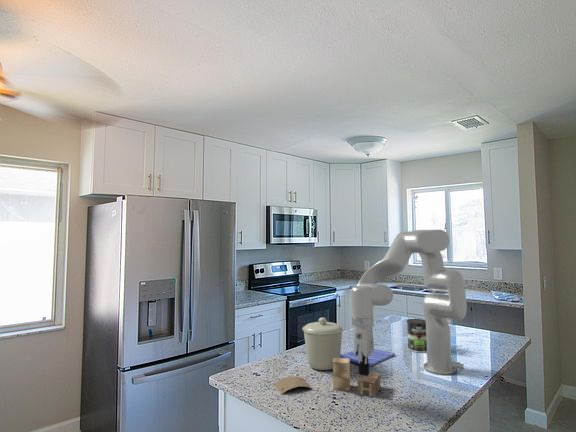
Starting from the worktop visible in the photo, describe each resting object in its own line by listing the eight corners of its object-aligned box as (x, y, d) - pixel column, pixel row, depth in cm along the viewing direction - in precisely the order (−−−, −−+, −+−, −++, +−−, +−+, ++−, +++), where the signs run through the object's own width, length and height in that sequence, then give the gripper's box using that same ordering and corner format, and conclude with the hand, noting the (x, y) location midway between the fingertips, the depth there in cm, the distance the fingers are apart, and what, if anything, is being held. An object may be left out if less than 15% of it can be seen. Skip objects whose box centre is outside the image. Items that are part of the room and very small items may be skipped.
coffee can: (431, 353, 173) (430, 323, 174) (408, 352, 176) (407, 322, 177) (428, 347, 183) (427, 318, 184) (406, 345, 186) (405, 318, 187)
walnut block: (374, 397, 127) (380, 387, 136) (374, 383, 127) (380, 373, 136) (357, 394, 130) (364, 384, 139) (357, 380, 130) (364, 371, 139)
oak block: (350, 385, 138) (349, 358, 138) (349, 390, 133) (349, 362, 133) (334, 384, 139) (333, 357, 139) (333, 389, 134) (332, 362, 135)
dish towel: (335, 360, 167) (335, 354, 167) (364, 349, 183) (364, 343, 184) (367, 370, 155) (367, 363, 155) (395, 356, 171) (395, 350, 171)
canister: (294, 366, 158) (293, 317, 159) (321, 356, 171) (320, 311, 172) (326, 377, 145) (325, 324, 147) (352, 366, 158) (351, 317, 159)
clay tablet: (305, 380, 144) (305, 373, 144) (316, 390, 135) (315, 383, 135) (270, 386, 139) (270, 379, 139) (279, 397, 130) (279, 389, 130)
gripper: (368, 327, 120) (369, 384, 119) (377, 318, 133) (379, 368, 132) (346, 325, 123) (347, 380, 122) (357, 316, 136) (359, 366, 135)
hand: (364, 374), depth 127 cm, fingers closed
